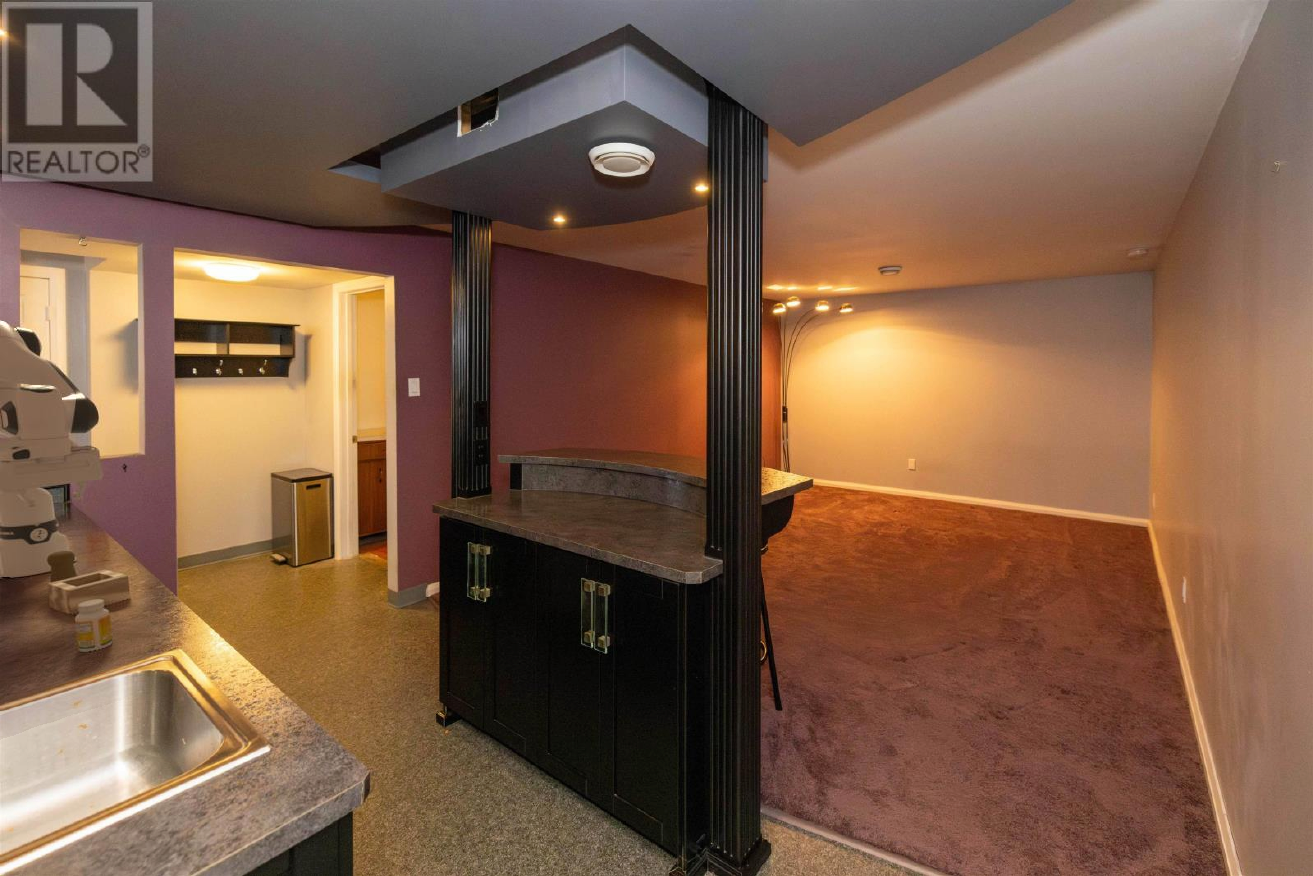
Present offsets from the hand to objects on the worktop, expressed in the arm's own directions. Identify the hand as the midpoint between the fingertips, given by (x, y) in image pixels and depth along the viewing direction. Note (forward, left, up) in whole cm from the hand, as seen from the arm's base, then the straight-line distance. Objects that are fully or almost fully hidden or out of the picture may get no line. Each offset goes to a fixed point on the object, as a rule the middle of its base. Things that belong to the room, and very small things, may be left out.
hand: (54, 503), depth 159 cm
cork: (0, 0, -24) cm, 24 cm away
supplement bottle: (+47, -12, -24) cm, 54 cm away
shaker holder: (+15, -1, -24) cm, 28 cm away
